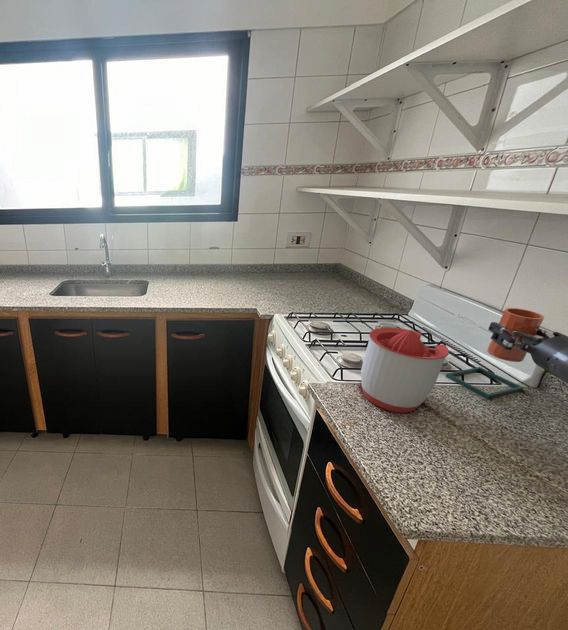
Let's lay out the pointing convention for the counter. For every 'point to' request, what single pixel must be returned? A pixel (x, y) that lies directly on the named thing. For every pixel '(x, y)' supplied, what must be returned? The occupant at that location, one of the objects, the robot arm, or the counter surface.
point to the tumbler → (516, 322)
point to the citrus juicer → (399, 369)
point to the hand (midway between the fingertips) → (508, 326)
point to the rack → (478, 369)
